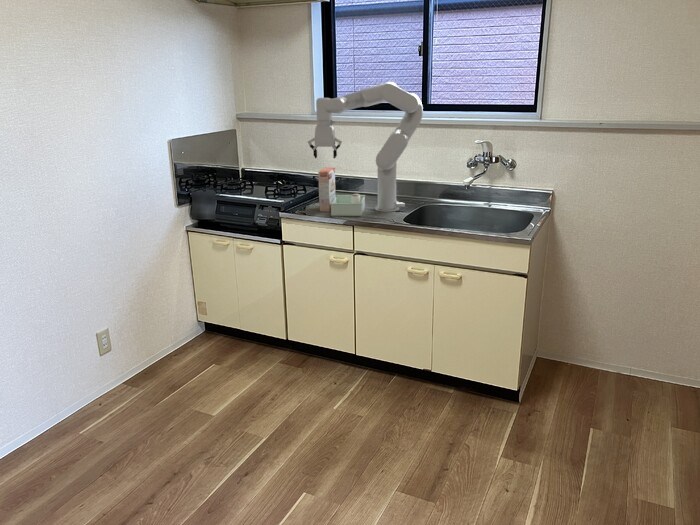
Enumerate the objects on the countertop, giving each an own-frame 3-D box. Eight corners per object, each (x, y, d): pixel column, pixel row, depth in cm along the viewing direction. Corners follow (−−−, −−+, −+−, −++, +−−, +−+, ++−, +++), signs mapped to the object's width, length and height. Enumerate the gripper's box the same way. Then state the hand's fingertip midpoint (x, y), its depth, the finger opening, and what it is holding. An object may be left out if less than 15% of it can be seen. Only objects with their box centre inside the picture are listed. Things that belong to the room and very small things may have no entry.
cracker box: (330, 212, 291) (329, 172, 284) (319, 212, 292) (317, 172, 285) (336, 206, 304) (335, 167, 297) (325, 205, 305) (324, 167, 298)
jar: (360, 209, 292) (360, 193, 290) (360, 212, 288) (359, 195, 285) (352, 209, 293) (351, 193, 290) (351, 211, 289) (351, 195, 286)
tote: (365, 207, 299) (365, 195, 297) (362, 216, 282) (361, 203, 279) (335, 207, 301) (335, 195, 299) (330, 216, 284) (330, 203, 281)
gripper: (342, 122, 286) (343, 156, 292) (308, 122, 288) (309, 156, 294) (340, 124, 279) (341, 159, 285) (305, 124, 281) (307, 159, 287)
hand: (325, 157), depth 289 cm, fingers open, 9 cm apart
